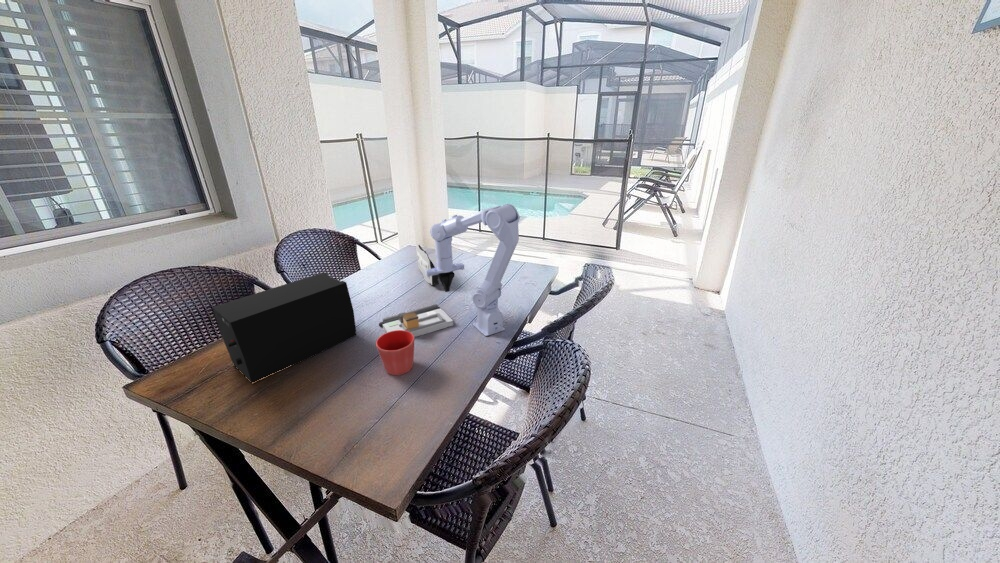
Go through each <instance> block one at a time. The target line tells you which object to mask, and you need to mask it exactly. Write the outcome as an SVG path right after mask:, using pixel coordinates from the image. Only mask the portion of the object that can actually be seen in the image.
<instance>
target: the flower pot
mask: <svg viewBox="0 0 1000 563" xmlns="http://www.w3.org/2000/svg"><path fill="white" fill-rule="evenodd" d="M375 345H376V350H377V351H378V353H379V354H378V355H379V356H380V359H381V362H382V364H383V366H384V369H385V371H386V372H387V374H390V375H392V376H400V375H404V374H406V373H408V372H410V371H411V369H412V368H413V366H414V365H413V364H414V355H415V352H414V351H415V337H414V335H413V334H412V333H410V332H409V331H405V330H395V331H390V332H387V333H382V334H381V335H380V336H378V338H377V340H376V342H375Z"/></svg>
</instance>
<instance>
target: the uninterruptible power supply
mask: <svg viewBox="0 0 1000 563" xmlns="http://www.w3.org/2000/svg"><path fill="white" fill-rule="evenodd" d="M211 308H212V311H213V314H214V317H215V320H216V323H217V325H218V329H219V331H220V334H221V337H222V339H223V342H224V345H225V347H226V350H227V352H228V355H229V357H230V360H231V362H232V364H233V363H234V365H235V366H236V367H237V368H238V369H239V370H240V371H241V372H242V373H243V374H244V375H245V376H246V377H247V378H248V379H249V380H250V381H251V383H252V382H255V381H257V380H259V379H261V378H263V377H266V376H268V375H270V374H272V373H275V372H277V371H279V370H282V369H284V368H286V367H288V366H290V365H293V364H295V363H297V364H299V363H301V362H303V361H302V360H304V359H306V360H307V358H308V359H310V358H312V357H314V356H316V355H319V354H320V353H323V352H325V351H327V350H329V349H331V348H332V347H333V348H334V346H337V345H340V344H341V343H344V342H346V341H348V340H351V339H353V338H354V337H356V336H357V328H356V320H355V311H354V308H353V303H352V300H351V295H350V292H349V288H348V283H347V281H344V280H339V279H336V278H334V277H332V276H330V275H328V274H327V272H321V273H318V274H314V275H312V276H308V277H305V278H302V279H297V280H295V281H291V282H289V283H286V284H282V285H279V286H276V287H272V288H269V289H266V290H263V291H260V292H255V293H253V294H250V295H247V296H243V297H239V298H237V299H234V300H230V301H228V302H227V301H226V302H224V303H221V304H218V305H217V304H216V305H215V306H211ZM322 351H323V352H322ZM315 354H316V355H315ZM313 355H314V356H313ZM311 356H312V357H311ZM309 357H310V358H309ZM300 361H301V362H300ZM304 361H305V360H304ZM298 362H299V363H298ZM234 365H233V366H234ZM295 365H296V364H295ZM235 366H234V367H235ZM293 366H294V365H293ZM236 367H235V368H236ZM237 368H236V369H237ZM238 369H237V370H238ZM282 371H283V370H282ZM251 383H250V384H251Z"/></svg>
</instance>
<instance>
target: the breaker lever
mask: <svg viewBox="0 0 1000 563" xmlns="http://www.w3.org/2000/svg"><path fill="white" fill-rule="evenodd" d="M402 317H403V322H404V326H405V327H406V328H407V330H409V329H413V328H416V327H419V322H418V316H417V315H416V313H415V312H411V313H407V314H404V315H402Z"/></svg>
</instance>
